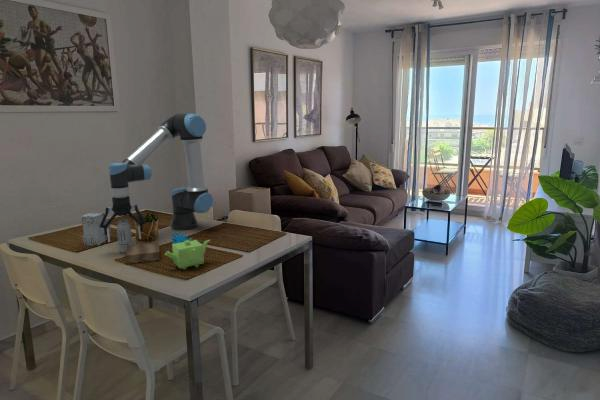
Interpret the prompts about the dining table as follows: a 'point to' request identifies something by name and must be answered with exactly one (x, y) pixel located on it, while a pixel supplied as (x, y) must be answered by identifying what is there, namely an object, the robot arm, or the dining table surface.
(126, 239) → the energy drink can
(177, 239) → the gear
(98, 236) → the circuit breaker
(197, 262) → the kettle
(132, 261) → the stand
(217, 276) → the dining table surface
